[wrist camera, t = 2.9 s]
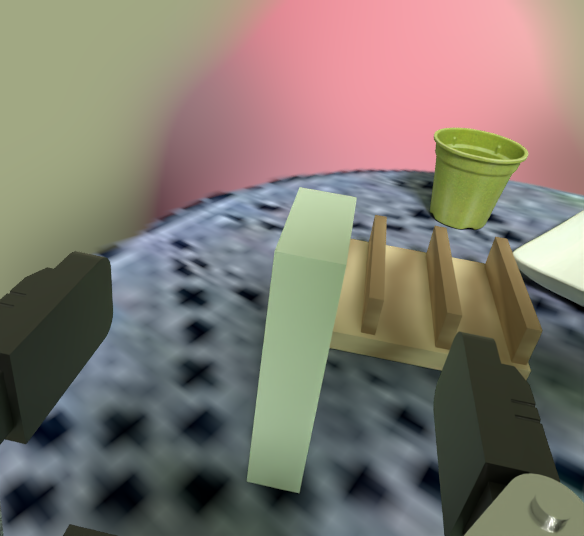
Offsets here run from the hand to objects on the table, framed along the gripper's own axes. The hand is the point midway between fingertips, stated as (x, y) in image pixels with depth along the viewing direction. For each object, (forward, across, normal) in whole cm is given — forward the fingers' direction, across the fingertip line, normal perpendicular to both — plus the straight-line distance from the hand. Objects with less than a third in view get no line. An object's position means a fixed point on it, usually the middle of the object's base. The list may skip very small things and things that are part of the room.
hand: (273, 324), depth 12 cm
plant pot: (+46, -14, +16) cm, 51 cm away
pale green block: (+11, 0, +17) cm, 20 cm away
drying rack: (+27, -7, +16) cm, 33 cm away
